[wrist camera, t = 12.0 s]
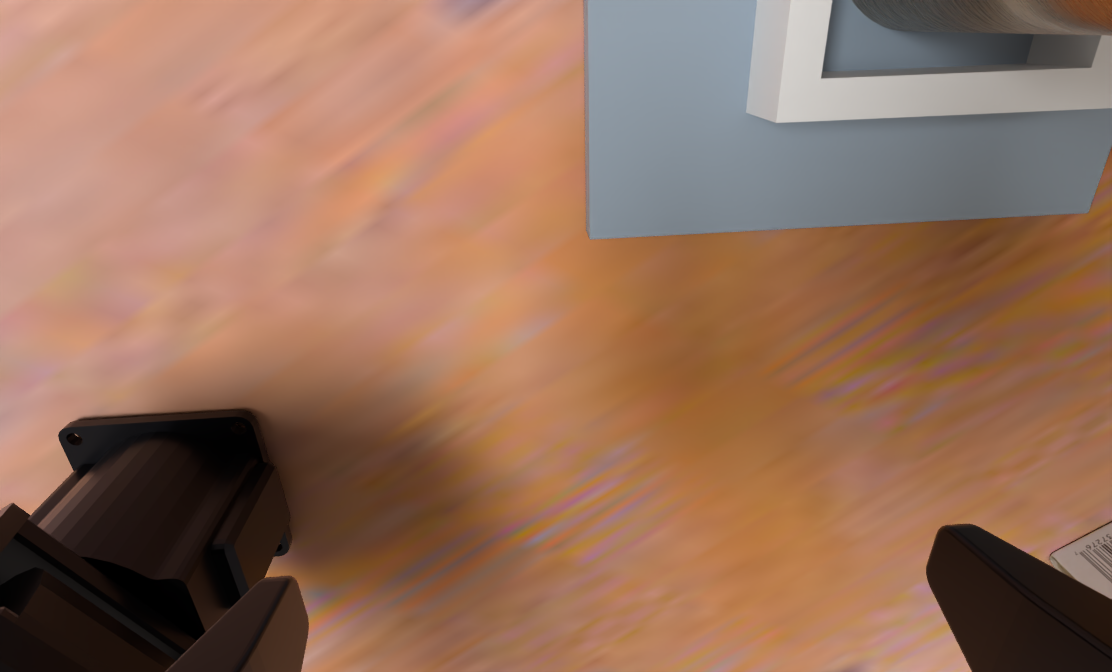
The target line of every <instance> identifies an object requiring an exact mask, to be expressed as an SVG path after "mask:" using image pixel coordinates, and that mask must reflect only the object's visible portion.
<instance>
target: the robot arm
mask: <svg viewBox="0 0 1112 672" xmlns="http://www.w3.org/2000/svg"><path fill="white" fill-rule="evenodd" d="M236 422H238V423H242V424H244V425H245V427H246V428H241V427H239V426H238V425H237V424H236ZM75 434H77V435H79V436H80V437H81V438H79V437H77V436H76V435H75ZM58 437H59V441H60V443H61V445H62V447H63V449H64V451H65V454H66V456H67V458H68V460H69V462H70V464H71V466H72V468H73V471H74V472H73V473H72V474H71V475H70V476H69V477H68V478H67V479H66V480H65V481H64V482H63V483H62V484H61V485H60V486H59V487H58V488H57V489H56V490H55V491H54V492H53V493H52V494H51V495H50V496H49V497H48V498H47V499H46V500H45V501H44V502H43V503H42V504H41V505H40V506H39V507H38V508H37V509H36V510H35V512H34V513H33V514H32V515H31V516H30V515H29V514H28V513H26V512H25V511H24V510H22V509H21V508H19V507H18V506H17V505H15V504H14V503H11V504H9V505H7V506H6V507H4V508H3V509H1V510H0V672H301V669H302V664H303V659H304V653H305V648H306V643H307V638H308V629H309V622H308V616H307V612H306V609H305V606H304V602H303V599H302V596H301V592H300V589H299V586H298V583H297V581H296V579H295V578H294V577H292V576H280V577H267V578H264V577H265V575H266V573H267V570H268V568H269V566H270V564H271V561H272V559H273V557H275V556H282V555H284V554H286V553H287V552H288V550H289V548H290V546H291V543H292V536H291V533H290V529H289V526H288V523H289V521H290V513H289V510H288V506H287V503H286V499H285V496H284V493H283V489H282V486H281V482H280V479H279V475H278V472H277V468H276V467H275V466H274V465H273V464H272V463H271V462H270V461H269V458H268V455H267V451H266V448H265V444H264V441H263V438H262V434H261V431H260V427H259V424H258V421H257V419H256V417H255V416H254V415H253V414H252V413H250V412H248V411H244V410H233V411H217V412H202V413H187V414H171V415H156V416H140V417H125V418H110V419H94V420H79V421H73V422H70V423H69V424H68V425H67V426H65V427H64V428H63V429H62V430H61V431H60V432H59V435H58ZM279 543H280V544H279ZM926 575H927V580H928V583H929V585H930V588H931V590H932V592H933V594H934V596H935V598H936V600H937V602H938V604H939V606H940V608H941V610H942V612H943V614H944V616H945V618H946V620H947V622H948V624H949V626H950V628H951V630H952V632H953V634H954V636H955V638H956V640H957V642H958V644H959V646H960V648H961V650H962V652H963V654H964V656H965V658H966V661H967V663H968V665H969V667H970V669H971V671H972V672H1112V599H1110V598H1108V597H1107V596H1105V595H1103V594H1101V593H1099V592H1097V591H1096V590H1094V589H1092V588H1090V587H1088V586H1086V585H1085V584H1083V583H1081V582H1079V581H1077V580H1075V579H1074V578H1072V577H1070V576H1068V575H1066V574H1064V573H1063V572H1061V571H1059V570H1057V569H1055V568H1053V567H1051V566H1050V565H1048V564H1046V563H1044V562H1042V561H1040V560H1039V559H1037V558H1035V557H1033V556H1031V555H1029V554H1028V553H1026V552H1024V551H1022V550H1020V549H1018V548H1017V547H1015V546H1013V545H1011V544H1009V543H1007V542H1006V541H1004V540H1002V539H1000V538H998V537H996V536H994V535H993V534H991V533H989V532H987V531H985V530H983V529H982V528H980V527H978V526H976V525H973V524H955V525H945V526H942V527H941V528H940V529H939V530H938V532H937V534H936V537H935V541H934V544H933V547H932V550H931V553H930V556H929V559H928V562H927V566H926Z"/></svg>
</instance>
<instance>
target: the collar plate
mask: <svg viewBox="0 0 1112 672" xmlns="http://www.w3.org/2000/svg"><path fill="white" fill-rule="evenodd" d="M584 75H585V168H586V231H587V233H588V236H589V238H590V239H609V238H628V237H647V236H666V235H684V234H703V233H722V232H741V231H760V230H779V229H797V228H816V227H835V226H854V225H873V224H892V223H911V222H929V221H948V220H967V219H986V218H1005V217H1024V216H1043V215H1061V214H1080V213H1088V212H1089V209H1090V206H1091V204H1092V201H1093V198H1094V195H1095V192H1096V190H1097V187H1098V184H1099V181H1100V178H1101V175H1102V173H1103V170H1104V167H1105V164H1106V161H1107V158H1108V156H1109V153H1110V150H1111V147H1112V36H1107V35H1059V34H1010V33H962V32H914V31H899V30H892V29H889V28H886V27H883V26H881V25H879V24H877V23H875V22H873V21H872V20H870V19H869V18H868V17H866V16H865V15H864V14H863V13H862V12H861V11H860V10H859V9H858V8H857V7H856V5H855V4H854V2H853V1H852V0H584Z"/></svg>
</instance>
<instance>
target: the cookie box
mask: <svg viewBox="0 0 1112 672" xmlns="http://www.w3.org/2000/svg"><path fill="white" fill-rule="evenodd" d="M1050 561H1051V563H1052V564H1053V566H1054V568H1055V569H1057V570H1059V571H1061V572H1063V573H1064V574H1066V575H1068V576H1070V577H1072V578H1074V579H1075V580H1077V581H1079V582H1081V583H1083V584H1085V585H1086V586H1088V587H1090V588H1092V589H1094V590H1096V591H1097V592H1099V593H1101V594H1103V595H1105V596H1107V597H1108V598H1110V599H1112V522H1111V523H1109V524H1107V525H1105V526H1103V527H1101V528H1099V529H1098V530H1096V531H1094V532H1092V533H1090V534H1088V535H1086V536H1084V537H1082V538H1080V539H1079V540H1077V541H1075V542H1073V543H1071V544H1069V545H1067V546H1065V547H1063V548H1061V549H1059V550H1057V551H1055V552H1053V553H1052V555H1051V556H1050Z"/></svg>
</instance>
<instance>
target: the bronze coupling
mask: <svg viewBox="0 0 1112 672" xmlns="http://www.w3.org/2000/svg"><path fill="white" fill-rule="evenodd" d="M852 1H853V2H854V4H855V5H856V7H857V8H858V9H859V10H860V11H861V12H862V13H863V14H864V15H865V16H866V17H868V18H869V19H870V20H872V21H873V22H875V23H877V24H879V25H881V26H883V27H886V28H889V29H892V30H899V31H914V32H962V33H1010V34H1059V35H1107V36H1112V0H852Z"/></svg>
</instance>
